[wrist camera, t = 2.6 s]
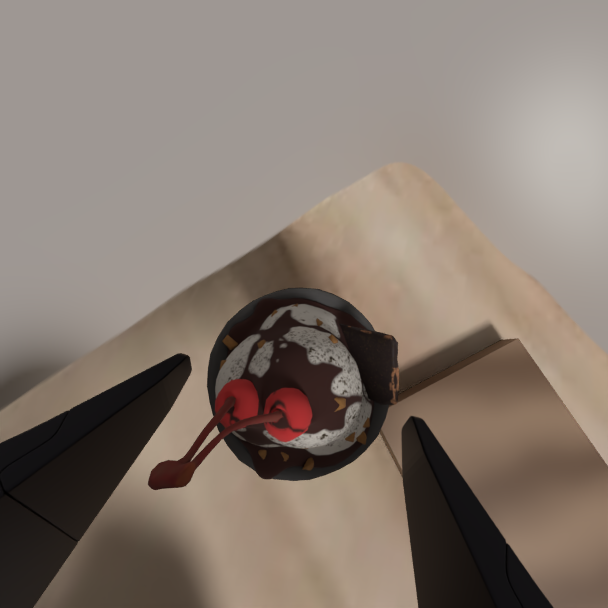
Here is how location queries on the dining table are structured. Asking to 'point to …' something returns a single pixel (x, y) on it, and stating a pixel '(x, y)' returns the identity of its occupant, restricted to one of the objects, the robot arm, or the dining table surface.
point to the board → (520, 466)
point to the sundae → (294, 388)
